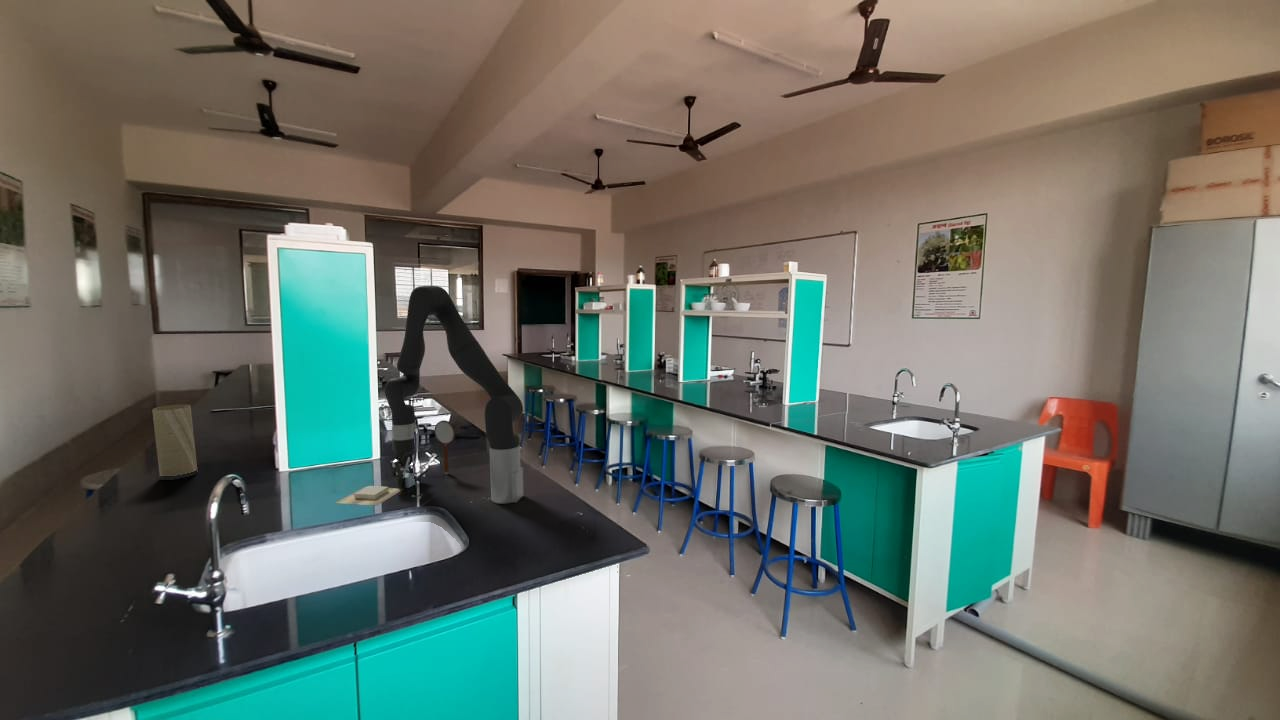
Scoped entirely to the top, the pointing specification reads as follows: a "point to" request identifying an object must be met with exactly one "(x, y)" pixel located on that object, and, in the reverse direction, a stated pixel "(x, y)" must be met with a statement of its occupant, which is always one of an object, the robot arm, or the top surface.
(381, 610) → the top surface
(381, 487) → the tile
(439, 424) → the magnifying glass
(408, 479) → the block
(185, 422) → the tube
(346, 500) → the cork mat
